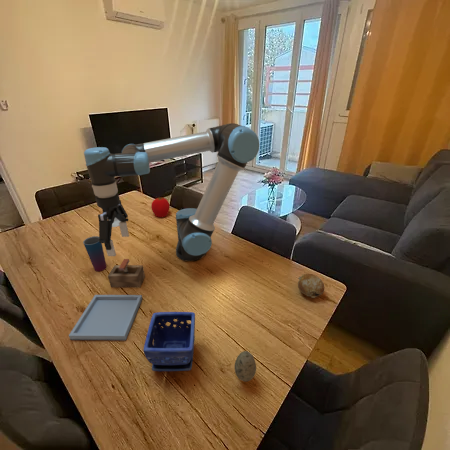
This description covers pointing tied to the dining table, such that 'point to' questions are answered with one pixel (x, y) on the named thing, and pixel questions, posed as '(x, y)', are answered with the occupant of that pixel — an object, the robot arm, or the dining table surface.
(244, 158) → the robot arm
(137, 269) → the brown hollow block
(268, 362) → the dining table surface
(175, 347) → the flower pot
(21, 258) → the dining table surface
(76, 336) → the tray
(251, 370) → the decorative egg
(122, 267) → the mallet
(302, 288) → the bread roll
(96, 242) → the cup
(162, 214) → the red apple
